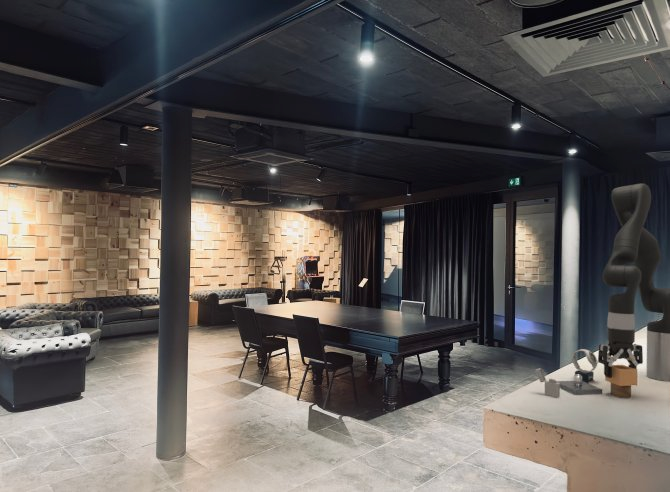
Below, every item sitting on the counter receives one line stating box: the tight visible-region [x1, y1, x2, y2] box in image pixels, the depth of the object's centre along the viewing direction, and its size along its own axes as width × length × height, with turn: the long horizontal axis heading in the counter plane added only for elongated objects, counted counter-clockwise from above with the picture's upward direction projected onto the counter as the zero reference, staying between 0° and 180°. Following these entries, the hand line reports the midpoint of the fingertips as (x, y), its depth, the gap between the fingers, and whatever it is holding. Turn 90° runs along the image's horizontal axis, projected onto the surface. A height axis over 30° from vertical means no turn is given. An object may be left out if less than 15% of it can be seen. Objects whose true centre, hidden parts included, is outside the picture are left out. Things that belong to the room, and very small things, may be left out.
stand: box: [610, 382, 632, 399], centre depth 147 cm, size 6×6×7 cm
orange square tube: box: [604, 364, 638, 387], centre depth 147 cm, size 6×6×5 cm
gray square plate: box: [556, 374, 603, 396], centre depth 153 cm, size 10×10×5 cm
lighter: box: [535, 367, 561, 399], centre depth 146 cm, size 7×2×8 cm, turn 49°
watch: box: [571, 348, 599, 384], centre depth 164 cm, size 6×8×11 cm
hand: (620, 377), depth 147 cm, fingers open, 8 cm apart
